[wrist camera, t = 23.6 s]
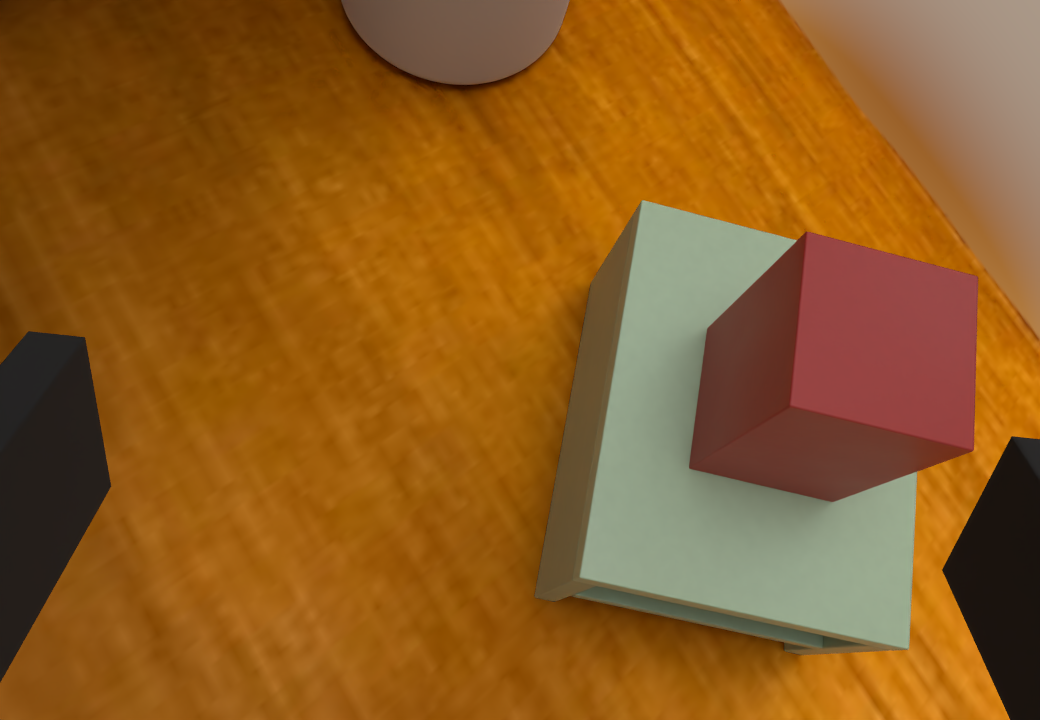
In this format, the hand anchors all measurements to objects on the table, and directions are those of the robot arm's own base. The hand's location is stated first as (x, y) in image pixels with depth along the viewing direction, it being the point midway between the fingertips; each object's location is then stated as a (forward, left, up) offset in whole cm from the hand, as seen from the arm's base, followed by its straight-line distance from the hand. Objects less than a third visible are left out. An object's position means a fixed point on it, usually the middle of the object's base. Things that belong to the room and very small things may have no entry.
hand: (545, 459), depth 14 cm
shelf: (-10, +12, -30) cm, 34 cm away
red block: (-9, +12, -21) cm, 26 cm away
